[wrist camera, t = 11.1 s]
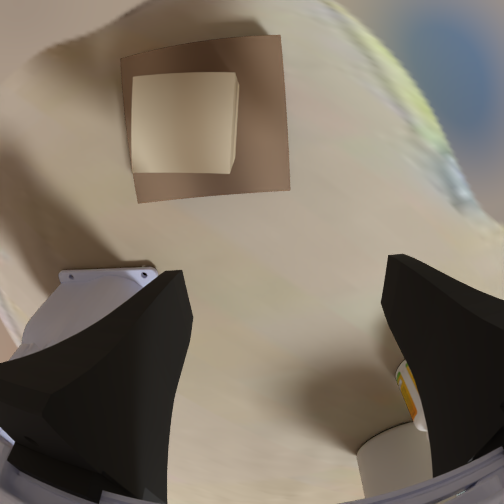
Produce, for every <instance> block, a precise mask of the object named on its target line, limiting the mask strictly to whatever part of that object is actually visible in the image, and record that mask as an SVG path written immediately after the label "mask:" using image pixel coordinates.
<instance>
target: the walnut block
mask: <svg viewBox="0 0 504 504" xmlns="http://www.w3.org/2000/svg"><path fill="white" fill-rule="evenodd" d="M191 72H235V74H236V77H237V80H238V83H239V101H238V118H237V137H236V156H235V160H234V163H233V166H232V169H231V172H230V174H218V173H133V178H134V184H135V189H136V195H137V201H138V204H139V203H147V202H156V201H165V200H174V199H183V198H194V197H204V196H216V195H228V194H241V193H256V192H272V191H290V169H289V148H288V129H287V112H286V97H285V83H284V70H283V58H282V46H281V36H280V35H263V36H245V37H233V38H223V39H215V40H207V41H200V42H193V43H187V44H181V45H176V46H171V47H166V48H161V49H156V50H152V51H148V52H144V53H140V54H136V55H132V56H128V57H125V58H121V75H122V89H123V100H124V111H125V120H126V129H127V137H128V144H129V152H130V159H131V165H132V150H131V117H132V87H133V77H135V76H144V75H156V74H169V73H191Z"/></svg>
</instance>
